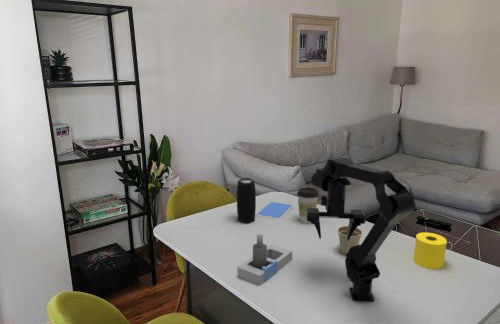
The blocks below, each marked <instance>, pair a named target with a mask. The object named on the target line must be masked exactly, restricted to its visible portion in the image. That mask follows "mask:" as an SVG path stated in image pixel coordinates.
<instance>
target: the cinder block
mask: <svg viewBox="0 0 500 324" xmlns="http://www.w3.org/2000/svg"><path fill="white" fill-rule="evenodd" d="M292 260H293V250H291V249H287V248H284V247H282V246H277V245H275V244H269V245H268V246H267V267H265V266H263V267H262V270H260V269H257V268H255V267H253V256H251V257H250V258H249V259H247V260H246V261H244V262H243V263H241V264H240V265H238V266H237V267H236V268H237V277H239V278H241V279H243V280H246V281H247V282H251V283H253V284H255V285H258V286H261V285H263V284H264V283H265V282H267V281H268V280H269V279H271V278H272V277H273V276H274V275H276V274H277V273H278V272H279V271H280V270H281V269H282V268H284V267H285V266H286V265H287V264H289V263H291V261H292Z"/></svg>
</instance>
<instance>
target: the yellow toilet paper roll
mask: <svg viewBox="0 0 500 324" xmlns="http://www.w3.org/2000/svg"><path fill="white" fill-rule="evenodd" d="M447 242H448V241H447V238H445V237H444V236H442V235H440V234H438V233H433V232H426V231H425V232H424V231H423V232H419V233H417V234H416V236H415V244H414V250H413V251H414V253H413V261H414V264H416V265H418V266H419V267H422V268H425V269H430V270H439V269H442V268H443V267H444V264H445V257H446V251H447Z"/></svg>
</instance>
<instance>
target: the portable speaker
mask: <svg viewBox="0 0 500 324" xmlns="http://www.w3.org/2000/svg"><path fill="white" fill-rule="evenodd" d="M255 181H256V180H254V179H252V178H250V177H242V178H240V179H239V180H237V185H236V186H237V187H236V210H237V211H236V213H237V219H238V220H239V221H240V223H241V224H249V223H251V222H252V221H256V220H255V219H256V218H255V217H256V207H257V204H256V200H257V199H256V197H257V196H256V195H257V194H256V184H255V183H256V182H255Z"/></svg>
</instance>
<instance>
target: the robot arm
mask: <svg viewBox="0 0 500 324" xmlns="http://www.w3.org/2000/svg"><path fill="white" fill-rule="evenodd" d="M354 162H355V161H353V159H349V158H347V157H344V156H343V157H337V158H336V157H335V158H331V159H328V160H327V162H326V164H325V165H324V167H322V168H316V170H315V172H314V173H313V174H312V176H311V179H310V183H311V185H312V186H313V187H314V188H316V189H319V190H322V191H324V192H327V195H326V196H324V195H323V196H322V195H321V197H320V205H321V206H325V211H320V210H319V207H316V208H308V209H307V221H309V222H311V225H314V227H315V230H316V232H317V235H318V239H319V240H321V239H322V231H321V229H322V228H321V221H320V218H321V219H342V220H343V219H344V220H345V219H346V220H347V219H348V221H349V222H348V226H349V227H348V233H347V240H349V239H350V237H351V235H352V233H353V232H354V230H355V229H356V228H358V227H361V225H363V224H366V214H365V212H364V211H363V210H362V209H351V210H350V212H345V209H346V206H345V205H346V195H347V194H346V192H347V191H346V190H347V186H348V187H349V186H351V185H352V183H351V181H350V180H349V179H353V180H357V181H360V182H365V183H368V184H370V185H373V187H374V189H375V190H374V191H375V197H376V198H375V199H376V200H377V203H378V204H379V208H378V213H379V216H378V218H377V220H376V221H375V222H374V224H373V226H372V227H371V229H370V230H369V231H368V233H367V235H366V236H365V238H364V240H363V241H362V242H361V244H360V243H359V244H358V245H357V246H353V247H351V248H350V249H349V252H348V253H347V254H344V255H345V259H344V261H345V262H344V263H345V264H344V265H345V270H346V276H347V278H348V279H349V281H350V282H351V283H352V286H350V287H349V292H350V296H351V300H352V301H357V302H358V301H359V302H369V303H371V302H373V303H374V302H375V298H374V295H373V292H372V291H373V290H372V288H373V280H374V279H375V280H376V279H378V278H379V277H380V276H381V271H380V269H379V268H378V265H377V264H376V261H377V257H376V254H377V252H378V251H379V249H380V248H381V247H382V245H383V243H384V242H385V240H386V239H387V238H388V236H389V235H390V234H391V232H392V230H393V229H394V227H395V226H397V224H398V223H399V222H401V221H403V220H404V219H406V218H408V216H410V215H411V214H412V213H413V212H414V211H415V209H416V203H415V199H414V197H413V196H412V195H411V193H410V191H409V190H408V189H407V187H406V185H404V184H402V183H401V182H400V181H399V180H397V179H396V178H395V176H394V174H393V173H392V172H391V171H389V170H386V169H385V170H382V169H379V168H378V169H377V168H374V167H369V166H365V165H361V164H356V163H354ZM348 178H349V179H348ZM385 186H386V187H387V188H388V189H390V190H391V191H392V192H393V193H394V194H389V195H388V194H387V192H386V188H385Z"/></svg>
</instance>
